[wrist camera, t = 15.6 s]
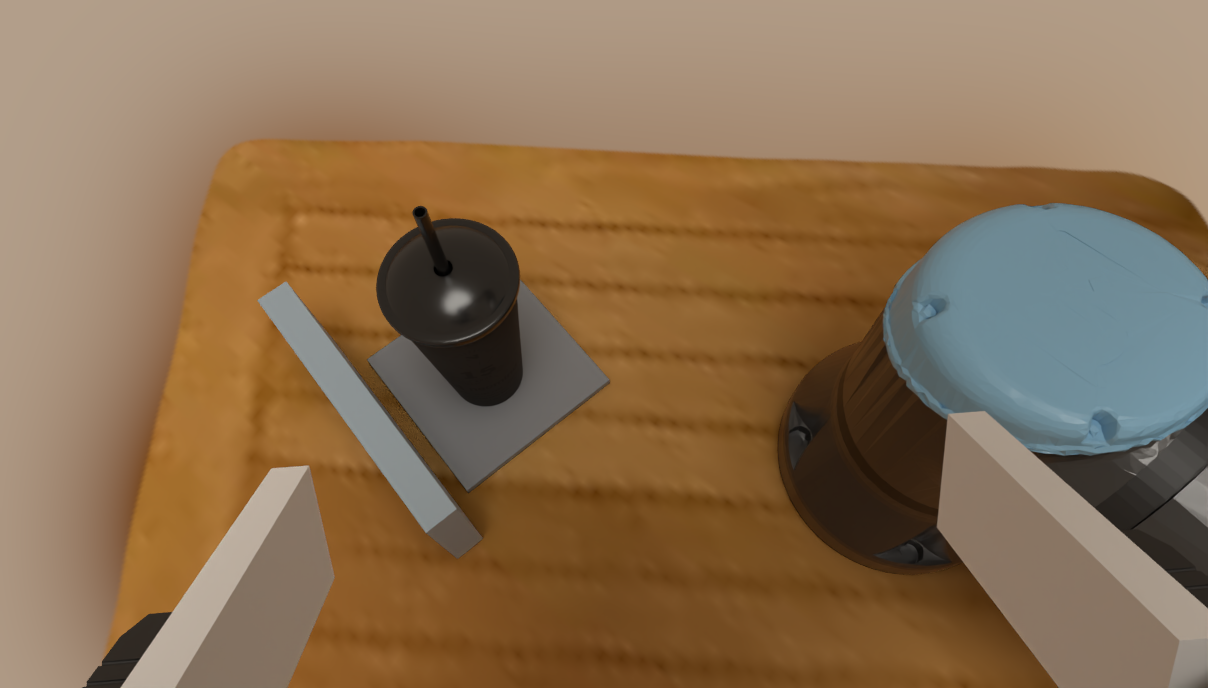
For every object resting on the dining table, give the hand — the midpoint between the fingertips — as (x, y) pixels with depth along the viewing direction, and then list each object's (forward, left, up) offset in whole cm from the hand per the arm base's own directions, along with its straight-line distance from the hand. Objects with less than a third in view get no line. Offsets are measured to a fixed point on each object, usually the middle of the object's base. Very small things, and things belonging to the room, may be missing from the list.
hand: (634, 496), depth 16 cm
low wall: (+5, -19, -35) cm, 40 cm away
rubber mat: (-3, -19, -35) cm, 40 cm away
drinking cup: (-3, -18, -35) cm, 39 cm away
